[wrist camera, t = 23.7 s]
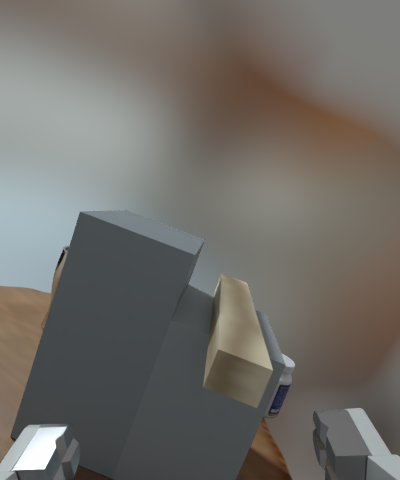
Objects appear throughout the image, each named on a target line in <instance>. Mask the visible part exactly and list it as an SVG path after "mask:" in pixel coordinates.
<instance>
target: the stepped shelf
mask: <svg viewBox="0 0 400 480" xmlns="http://www.w3.org/2000/svg"><path fill="white" fill-rule="evenodd" d="M203 243H204V239H202V238H199V237H196V236H194V235H191V234H188V233H185V232H183V231H180V230H177V229H175V228H172V227H169V226H167V225H164V224H161V223H159V222H156V221H153V220H151V219H148V218H145V217H143V216H140V215H137V214H135V213H132V212H129V211H127V210H126V211H89V212H88V211H86V212H80V214H79V217H78V220H77V224H76V227H75V230H74V234H73V237H72V240H71V243H70V246H69V249H68V253H67V256H66V259H65V262H64V266H63V269H62V272H61V275H60V278H59V282H58V285H57V288H56V291H55V295H54V298H53V301H52V304H51V307H50V311H49V314H48V317H47V320H46V324H45V327H44V330H43V333H42V336H41V340H40V343H39V346H38V349H37V353H36V356H35V359H34V362H33V365H32V369H31V372H30V375H29V378H28V382H27V385H26V388H25V391H24V395H23V398H22V401H21V404H20V407H19V411H18V414H17V417H16V420H15V424H14V427H13V430H12V433H11V436H10V437H12V438H14V439H16V440H17V438H18V437H19V436H20V434H21V433H22V431H23V430H24V428H26V427H27V426H28V425H43V424H74V427H75V431H76V433H75V435H74V437H73V438H74V439H75V440H76V441H77V442H78V443H79V447H80V459H79V464H78V465H79V466H82V467H84V468H86V469H89V470H91V471H94V472H96V473H98V474H101V475H103V476H106V477H108V478H111V479H113V480H236V478H237V476H238V474H239V472H240V469H241V467H242V465H243V462H244V460H245V458H246V455H247V453H248V451H249V448H250V446H251V444H252V442H253V439H254V437H255V435H256V432H257V430H258V428H259V425H260V423H261V421H262V419H263V416H264V414H265V412H266V409H267V407H268V405H269V402H270V400H271V398H272V395H273V393H274V391H275V389H276V386H277V384H278V382H279V379H280V377H281V375H282V372H283V370H284V368H285V365H286V364H285V362H284V359H283V357H282V354H281V351H280V349H279V346H278V344H277V341H276V339H275V336H274V334H273V331H272V328H271V326H270V323H269V321H268V318H267V316H266V314H264V313H261V312H259V311H256V310H255V311H256V315H257V318H258V321H259V325H260V328H261V331H262V335H263V338H264V341H265V345H266V348H267V351H268V355H269V358H270V361H271V365H272V368H273V372H272V375H271V377H270V379H269V382H268V384H267V386H266V389H265V391H264V393H263V396H262V398H261V400H260V403H259V405H258V407H257V408H255V407H253V406H250V405H248V404H245V403H243V402H240V401H237V400H235V399H232V398H230V397H227V396H225V395H222V394H220V393H217V392H215V391H212V390H210V389H207V388H205V387H203V384H204V376H205V368H206V359H207V351H208V343H209V334H210V326H211V318H212V309H213V301H214V294H212V293H209V292H206V291H204V290H201V289H199V288H196V287H193V286H191V285H188V283H189V281H190V278H191V275H192V273H193V270H194V267H195V265H196V262H197V259H198V257H199V254H200V251H201V248H202V246H203Z"/></svg>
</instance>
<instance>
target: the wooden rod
mask: <svg viewBox="0 0 400 480" xmlns="http://www.w3.org/2000/svg"><path fill="white" fill-rule="evenodd" d="M272 372H273V368H272V365H271V361H270V358H269V355H268V351H267V348H266V345H265V341H264V338H263V335H262V331H261V328H260V325H259V321H258V318H257V315H256V311H255V308H254V305H253V301H252V298H251V294H250V291H249V288H248V285H247V283H246V282H243V281H240V280H238V279H235V278H232V277H230V276H227V275H225V274H221V277H220V279H219V282H218V284H217V287H216V290H215V293H214V301H213V309H212V318H211V326H210V334H209V343H208V351H207V359H206V368H205V376H204V384H203V387H205V388H207V389H210V390H212V391H215V392H217V393H220V394H222V395H225V396H227V397H230V398H232V399H235V400H237V401H240V402H243V403H245V404H248V405H250V406H253V407H255V408H257V407H258V405H259V403H260V400H261V398H262V396H263V393H264V391H265V389H266V386H267V384H268V382H269V379H270V377H271V375H272Z"/></svg>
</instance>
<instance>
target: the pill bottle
mask: <svg viewBox="0 0 400 480" xmlns="http://www.w3.org/2000/svg"><path fill="white" fill-rule="evenodd" d="M282 357H283V359H284V362H285V364H286V365H285V368H284V370H283V372H282V375H281V377H280V379H279V382H278V384H277V386H276V389H275V391H274V393H273V395H272V398H271V400H270V402H269V405H268V407H267V409H266V412H265V414H264V416H263V417H266V418H274V417H276V416H277V415H278V413H279V411H280V408H281V406H282V404H283V401H284V399H285V396H286V394H287V391H288V389H289V387H290V384H291V381H292V377H291V375H290V373H292V372H293V370H294V367H295V363H294V362H293V361H292V360H291V359H290V358H289V357H287V356H285V355H283V354H282Z"/></svg>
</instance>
